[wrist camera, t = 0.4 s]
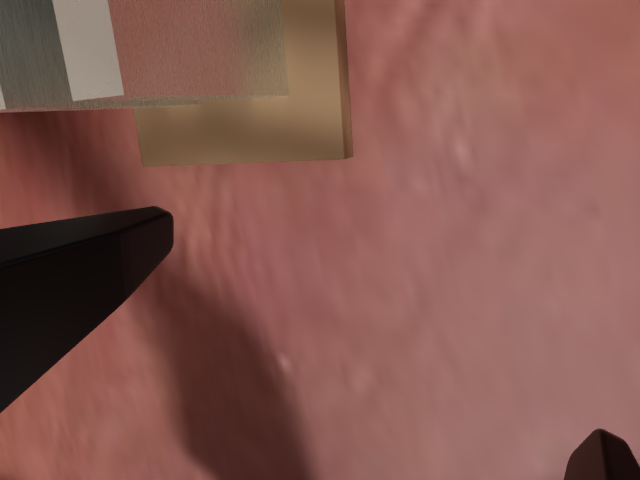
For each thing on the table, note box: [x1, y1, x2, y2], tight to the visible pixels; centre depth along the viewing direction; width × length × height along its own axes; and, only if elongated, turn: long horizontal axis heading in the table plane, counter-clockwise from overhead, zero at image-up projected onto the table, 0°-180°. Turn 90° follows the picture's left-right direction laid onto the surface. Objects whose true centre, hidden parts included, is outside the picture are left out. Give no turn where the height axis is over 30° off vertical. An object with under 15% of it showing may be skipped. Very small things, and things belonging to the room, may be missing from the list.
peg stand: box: [133, 0, 353, 167], centre depth 20 cm, size 14×12×6 cm
